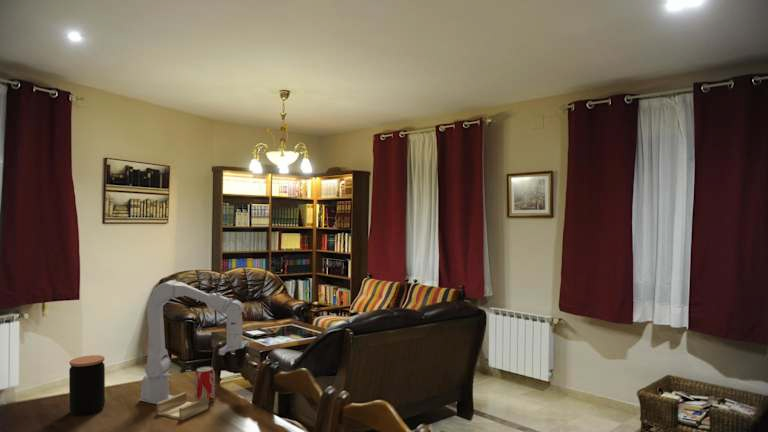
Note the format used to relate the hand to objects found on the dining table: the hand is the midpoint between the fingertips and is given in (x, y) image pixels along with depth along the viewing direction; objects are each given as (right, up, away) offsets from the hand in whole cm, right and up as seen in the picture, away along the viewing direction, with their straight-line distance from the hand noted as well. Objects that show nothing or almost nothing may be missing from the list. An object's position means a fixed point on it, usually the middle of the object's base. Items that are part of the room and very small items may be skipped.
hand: (234, 369), depth 190 cm
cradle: (-14, -11, -13) cm, 22 cm away
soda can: (-10, -11, -4) cm, 15 cm away
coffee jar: (-48, -11, -13) cm, 51 cm away
